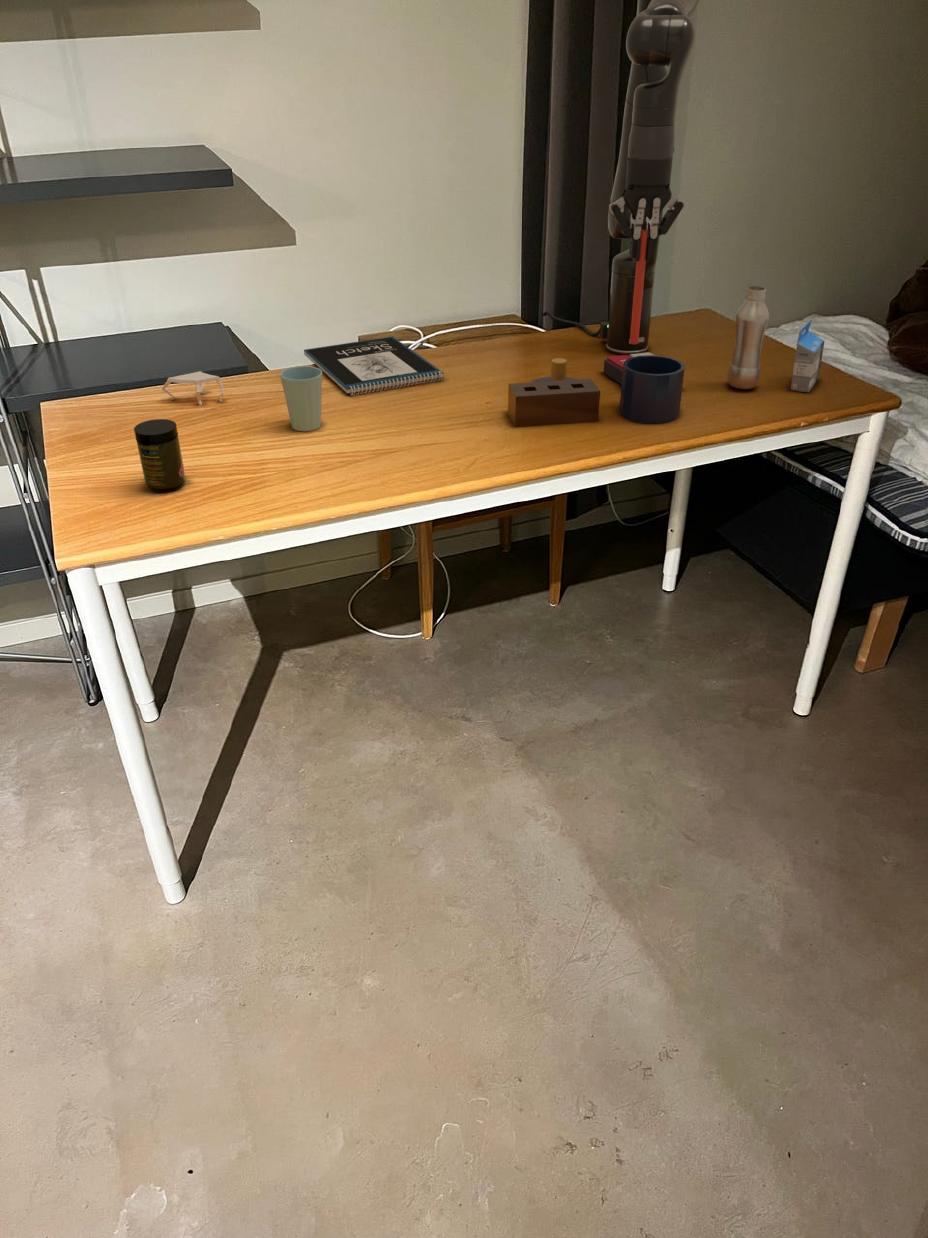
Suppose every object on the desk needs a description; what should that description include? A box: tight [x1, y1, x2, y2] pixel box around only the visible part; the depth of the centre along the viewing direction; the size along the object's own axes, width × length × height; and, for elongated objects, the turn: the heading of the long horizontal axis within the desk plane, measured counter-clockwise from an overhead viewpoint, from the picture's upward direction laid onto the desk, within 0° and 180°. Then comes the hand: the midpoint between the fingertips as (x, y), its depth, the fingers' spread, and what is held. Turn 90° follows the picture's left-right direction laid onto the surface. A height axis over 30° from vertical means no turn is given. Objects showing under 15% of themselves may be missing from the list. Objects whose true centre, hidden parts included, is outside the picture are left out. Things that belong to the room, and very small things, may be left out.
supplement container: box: [133, 418, 187, 493], centre depth 164 cm, size 7×7×10 cm
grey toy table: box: [161, 370, 226, 406], centre depth 199 cm, size 12×8×5 cm
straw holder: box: [507, 378, 601, 428], centre depth 189 cm, size 7×16×6 cm, turn 99°
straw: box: [630, 230, 648, 344], centre depth 179 cm, size 2×2×20 cm
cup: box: [279, 365, 323, 432], centre depth 185 cm, size 8×8×10 cm
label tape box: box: [790, 318, 825, 393], centre depth 201 cm, size 9×4×12 cm, turn 150°
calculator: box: [603, 351, 654, 386], centre depth 206 cm, size 11×4×15 cm
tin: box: [618, 354, 686, 425], centre depth 190 cm, size 11×11×10 cm
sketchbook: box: [303, 336, 445, 396], centre depth 215 cm, size 22×30×2 cm
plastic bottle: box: [727, 285, 770, 390], centre depth 198 cm, size 6×7×20 cm
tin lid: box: [530, 357, 576, 382], centre depth 200 cm, size 13×13×7 cm
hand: (641, 259), depth 176 cm, fingers closed on straw, 1 cm apart
